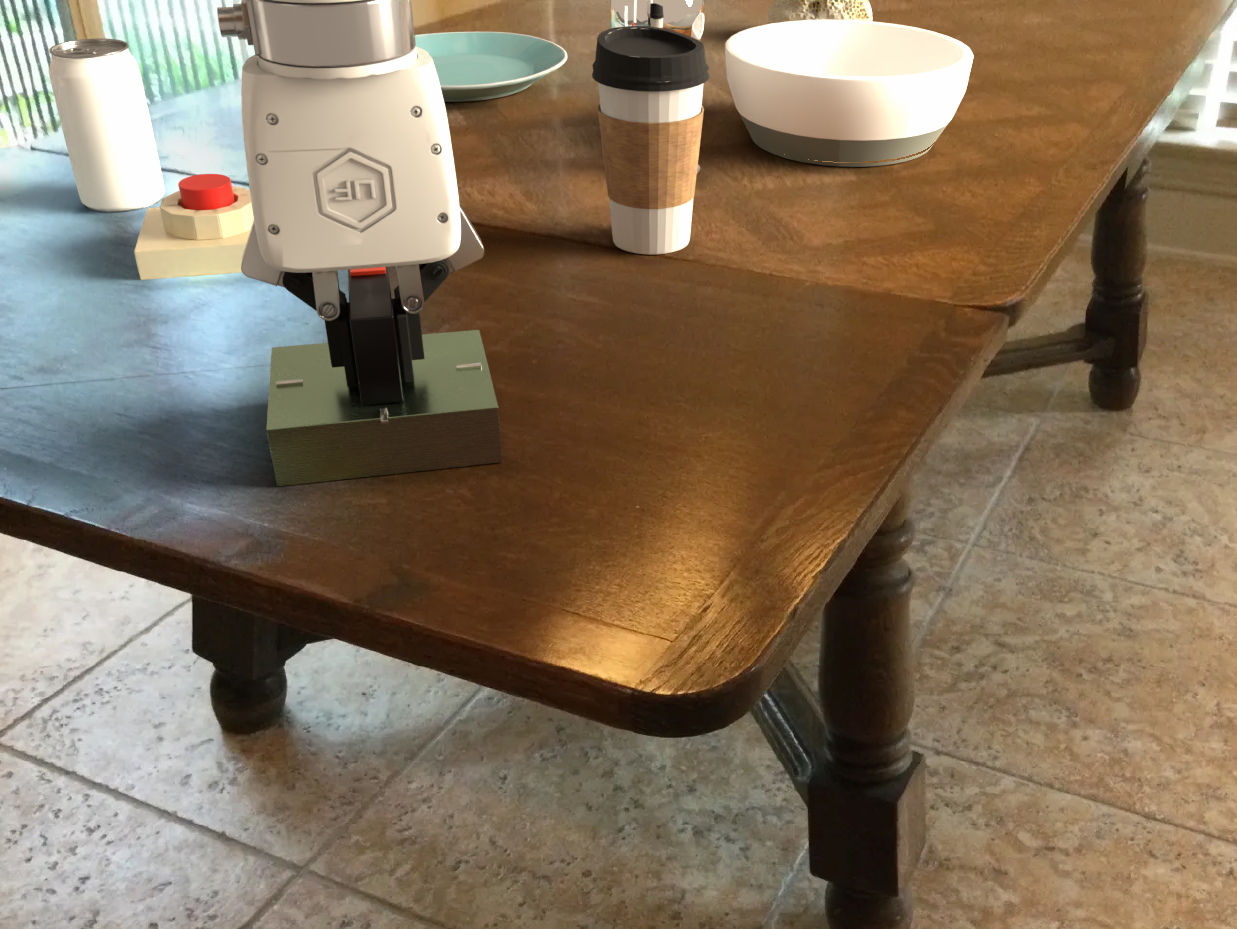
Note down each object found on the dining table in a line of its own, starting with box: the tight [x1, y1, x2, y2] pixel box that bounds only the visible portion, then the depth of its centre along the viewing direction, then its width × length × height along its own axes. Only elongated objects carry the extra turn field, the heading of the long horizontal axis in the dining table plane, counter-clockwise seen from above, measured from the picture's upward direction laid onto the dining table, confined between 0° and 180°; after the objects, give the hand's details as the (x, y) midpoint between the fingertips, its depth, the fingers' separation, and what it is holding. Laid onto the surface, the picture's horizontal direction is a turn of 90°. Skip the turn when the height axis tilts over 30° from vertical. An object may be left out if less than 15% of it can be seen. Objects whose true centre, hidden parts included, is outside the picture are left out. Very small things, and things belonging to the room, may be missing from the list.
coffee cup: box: [591, 26, 710, 256], centre depth 96 cm, size 8×8×15 cm
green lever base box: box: [265, 329, 503, 487], centre depth 74 cm, size 12×11×4 cm
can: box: [48, 37, 166, 213], centre depth 102 cm, size 6×6×12 cm
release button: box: [177, 173, 235, 211], centre depth 94 cm, size 4×4×2 cm
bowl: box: [724, 20, 974, 168], centre depth 120 cm, size 22×22×8 cm
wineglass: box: [609, 0, 706, 178], centre depth 108 cm, size 8×8×20 cm
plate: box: [415, 31, 568, 103], centre depth 136 cm, size 22×22×3 cm
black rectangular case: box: [347, 267, 403, 405], centre depth 71 cm, size 7×2×5 cm, turn 14°
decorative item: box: [767, 0, 873, 24], centre depth 154 cm, size 12×9×10 cm
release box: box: [133, 185, 254, 281], centre depth 96 cm, size 10×9×4 cm
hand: (380, 371), depth 73 cm, fingers closed on black rectangular case, 2 cm apart
